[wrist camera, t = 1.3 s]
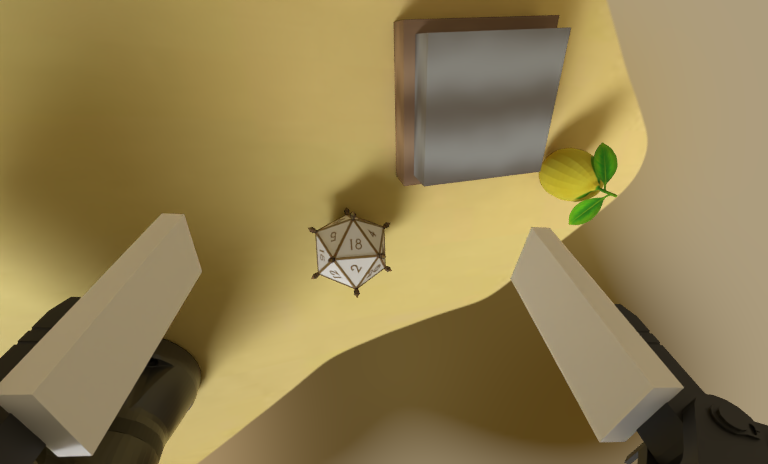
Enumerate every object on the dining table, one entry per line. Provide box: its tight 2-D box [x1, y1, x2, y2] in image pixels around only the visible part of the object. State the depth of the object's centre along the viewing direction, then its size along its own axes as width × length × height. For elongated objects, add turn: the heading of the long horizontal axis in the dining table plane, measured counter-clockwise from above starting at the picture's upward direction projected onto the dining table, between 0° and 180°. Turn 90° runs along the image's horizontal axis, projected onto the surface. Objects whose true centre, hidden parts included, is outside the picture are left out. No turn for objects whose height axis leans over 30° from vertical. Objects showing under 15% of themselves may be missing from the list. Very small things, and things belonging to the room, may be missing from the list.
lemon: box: [539, 143, 617, 225], centre depth 35 cm, size 7×6×10 cm
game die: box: [308, 208, 392, 298], centre depth 34 cm, size 9×8×10 cm
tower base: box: [394, 15, 571, 186], centre depth 30 cm, size 14×14×6 cm
